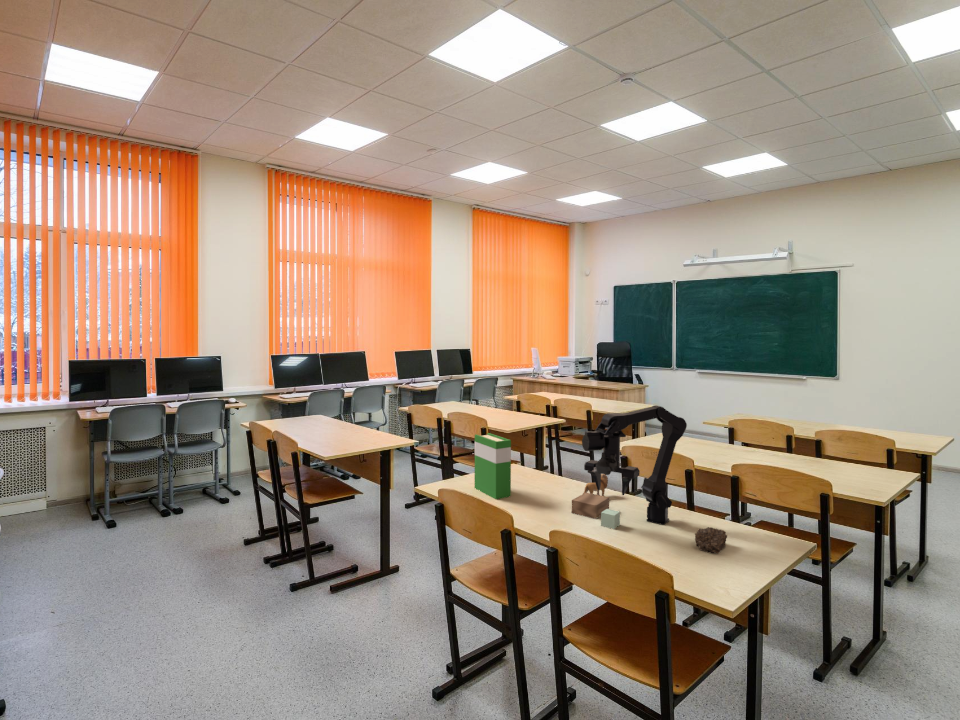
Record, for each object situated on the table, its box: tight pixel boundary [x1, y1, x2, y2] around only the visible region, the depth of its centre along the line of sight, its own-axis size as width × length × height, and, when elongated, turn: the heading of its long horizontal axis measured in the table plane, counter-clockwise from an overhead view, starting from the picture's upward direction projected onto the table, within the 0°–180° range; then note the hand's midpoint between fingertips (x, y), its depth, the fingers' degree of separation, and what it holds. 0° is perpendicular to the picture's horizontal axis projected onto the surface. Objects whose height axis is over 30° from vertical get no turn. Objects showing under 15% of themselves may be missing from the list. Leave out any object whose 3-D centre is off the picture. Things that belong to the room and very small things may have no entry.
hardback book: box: [474, 432, 512, 500], centre depth 224 cm, size 18×7×24 cm, turn 30°
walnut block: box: [571, 492, 610, 520], centre depth 201 cm, size 10×12×5 cm
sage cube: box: [600, 508, 621, 530], centre depth 187 cm, size 5×5×5 cm
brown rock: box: [694, 526, 728, 554], centre depth 169 cm, size 12×10×5 cm
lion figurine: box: [582, 474, 609, 496], centre depth 218 cm, size 15×5×9 cm, turn 130°
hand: (610, 492), depth 186 cm, fingers open, 9 cm apart
